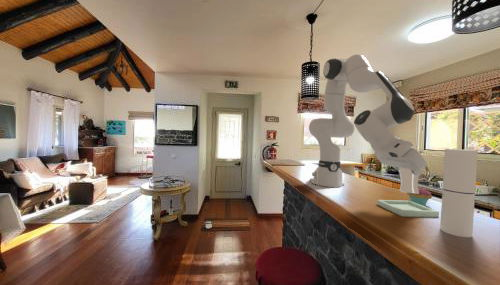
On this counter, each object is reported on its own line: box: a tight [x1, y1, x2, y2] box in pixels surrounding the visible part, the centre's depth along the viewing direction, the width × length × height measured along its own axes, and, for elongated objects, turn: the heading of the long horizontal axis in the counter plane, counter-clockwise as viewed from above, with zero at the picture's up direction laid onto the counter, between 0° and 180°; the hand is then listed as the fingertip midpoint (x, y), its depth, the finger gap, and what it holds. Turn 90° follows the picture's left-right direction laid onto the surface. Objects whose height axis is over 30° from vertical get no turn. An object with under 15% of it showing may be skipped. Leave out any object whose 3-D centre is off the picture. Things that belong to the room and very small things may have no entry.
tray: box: [376, 199, 440, 218], centre depth 87 cm, size 14×14×2 cm
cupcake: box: [406, 187, 433, 207], centre depth 97 cm, size 9×8×12 cm
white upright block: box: [398, 167, 420, 194], centre depth 86 cm, size 7×7×15 cm
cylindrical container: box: [439, 148, 479, 238], centre depth 67 cm, size 7×7×25 cm
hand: (410, 173), depth 86 cm, fingers closed on white upright block, 6 cm apart
